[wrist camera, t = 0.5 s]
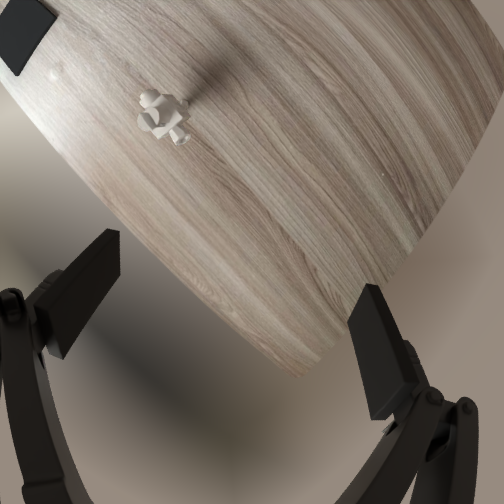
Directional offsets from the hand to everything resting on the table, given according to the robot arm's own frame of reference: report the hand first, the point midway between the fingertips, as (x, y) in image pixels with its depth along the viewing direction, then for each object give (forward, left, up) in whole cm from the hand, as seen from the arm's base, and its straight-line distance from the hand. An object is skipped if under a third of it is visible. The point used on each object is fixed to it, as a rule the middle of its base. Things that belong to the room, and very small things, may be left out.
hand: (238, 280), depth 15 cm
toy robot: (-5, -11, -27) cm, 30 cm away
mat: (-20, -46, -27) cm, 57 cm away
